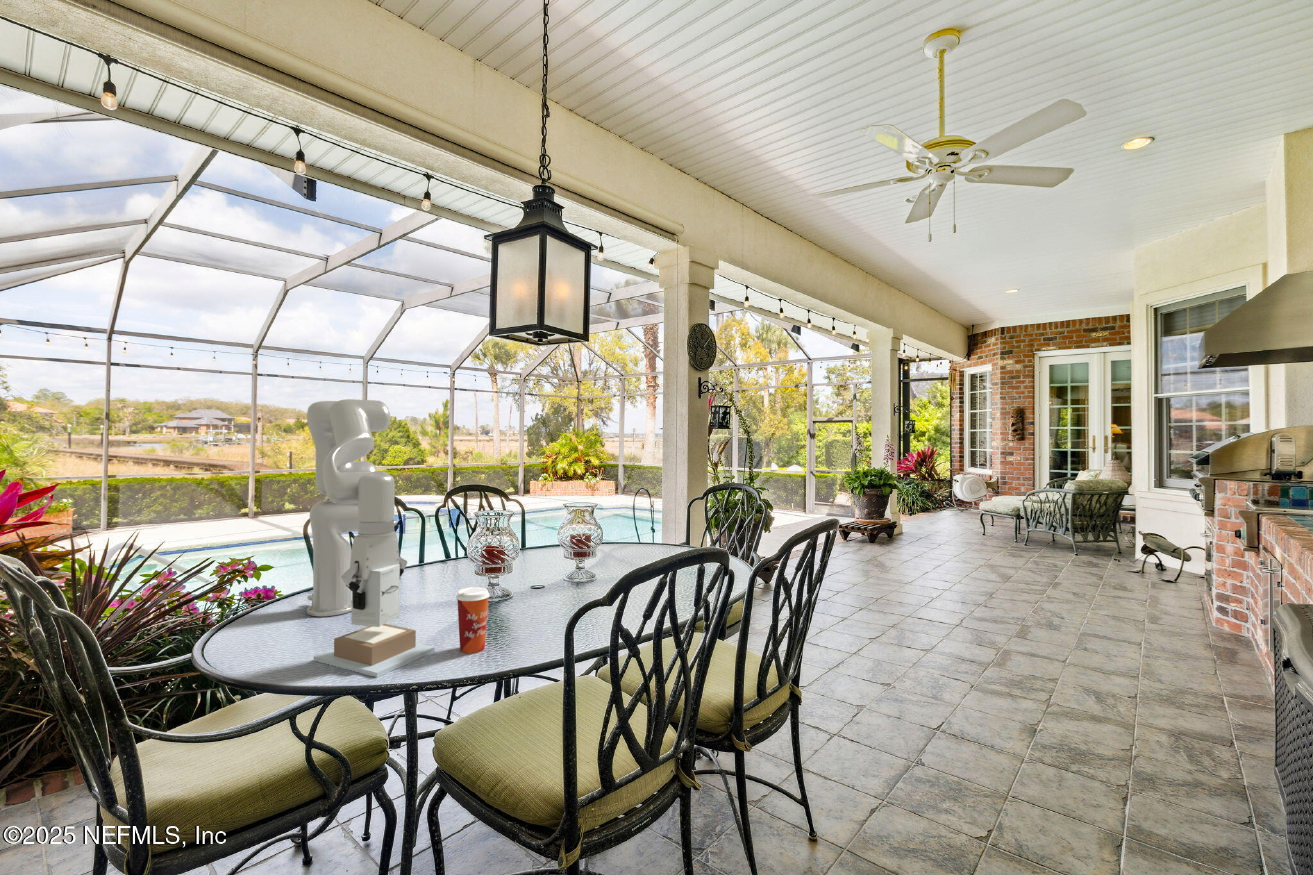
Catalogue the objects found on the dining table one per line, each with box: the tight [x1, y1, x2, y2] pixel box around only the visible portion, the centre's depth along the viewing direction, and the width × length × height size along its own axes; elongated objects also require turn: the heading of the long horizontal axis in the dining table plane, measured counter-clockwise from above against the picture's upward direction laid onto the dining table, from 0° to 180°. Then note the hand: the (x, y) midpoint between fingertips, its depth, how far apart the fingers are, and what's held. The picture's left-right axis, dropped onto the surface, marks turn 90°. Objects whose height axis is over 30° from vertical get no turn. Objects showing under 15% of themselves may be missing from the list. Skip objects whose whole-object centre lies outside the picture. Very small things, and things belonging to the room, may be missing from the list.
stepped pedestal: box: [313, 623, 436, 678], centre depth 133 cm, size 20×16×5 cm
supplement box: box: [350, 564, 401, 627], centre depth 133 cm, size 7×7×13 cm
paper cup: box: [455, 586, 490, 655], centre depth 138 cm, size 8×8×14 cm
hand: (376, 603), depth 133 cm, fingers closed on supplement box, 8 cm apart
